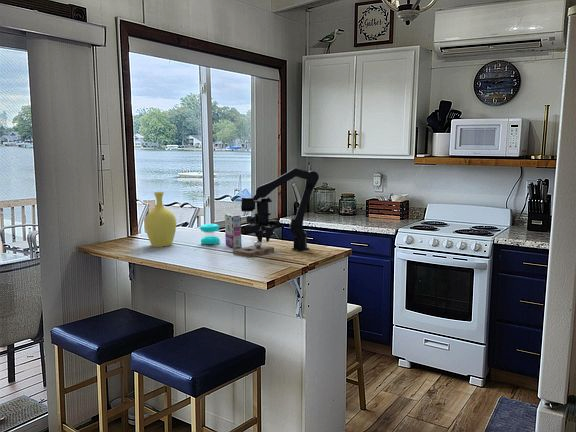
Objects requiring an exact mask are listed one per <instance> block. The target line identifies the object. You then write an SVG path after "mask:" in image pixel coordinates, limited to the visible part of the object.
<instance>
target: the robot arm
mask: <svg viewBox="0 0 576 432" xmlns="http://www.w3.org/2000/svg"><path fill="white" fill-rule="evenodd" d="M319 176H320V175H319V174H318V172H317V171H316V170H310V171H308V170H303V169H300V168H298V167H294V168H291V170H289V171H287V172H285V173H284V174H282V175H280V176H279V177H277V178H275V179H273V180H272V181H269V182H266V183H264V184H261V185H258V187H257V188H256V191H255V195H253V196H252V197H241V204H240V207H241V208H240V210H241V212H247V213H248V212H254V210H256V213H254V216H252V215H249V216H246V218H245V219H246V223H247V224H246V225H245V231H248V232H254V235H255V236H256V238H257V241H260V242H261V244H262V243H263V236H264V230H265V241H266V242H267V243H268V242H269V241H270V240H271V237H272V235H273V232H274V231H275V229H276V228H277V227H280V226H281V221H280V219H270V216H271V214H272V213H270V211H269V210H270V209H269V208H270V207H269V205H270V204H269V203H272V202H273V199H272V198H271V197H270V196H268V195H269V194H271V193H272V192H273V191H274V190H275V189H277V188H278V187H280V186H282V185H284V184H286V183H287V182H288V181H290V180H292V179H294V178H295V177H296V178H300V179H304V180H305V184H304V190H303V193H302V194H301V195H302V196H301V199H300V201H299V205H298V209H297V211H296V214H295V216H294V217H293V216H291V219H290V223H289V230H290V233H291V234H292V235H293V236H294V237H293V247H292V248H291V250H293V251H299V252H303V251H306V250H309V249H310V247H308V241H307V239H308V237H307V231H306V230H305V229H304V228H303V225H304V217H305V214H306V210H307V209H308V208H307V207H308V205H309V202H310V198H311V195H312V192H313V190H314V188H316V187H315V186H316V185H317V183H318V181H319V178H320V177H319ZM267 196H268V197H267ZM259 199H260V200H259ZM262 228H263V229H264V230H263V229H262Z"/></svg>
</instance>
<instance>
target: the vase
mask: <svg viewBox="0 0 576 432" xmlns="http://www.w3.org/2000/svg"><path fill="white" fill-rule="evenodd" d="M153 193H154V197H155V198H156V199H155V200H156V205H155V207H154V208H153V209H152V210H150V211H149V212H148V213H147V214H146V215H145V220H144V229H145V231H146V235H147V237H148V239H149V240H148V241H149V243H150V245H151V246H152V247H153V246H154V247H155V248H163V246H166V247H170V246H172V245H173V242H174V239H175V235H176V230H177V219H176V216H175V214H174V213H173V212H172V211H171V210H169V209H168V208H167V207H165V205H164V204H163V196H164V191H156V192H153ZM169 245H170V246H169ZM154 247H153V248H154Z"/></svg>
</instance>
